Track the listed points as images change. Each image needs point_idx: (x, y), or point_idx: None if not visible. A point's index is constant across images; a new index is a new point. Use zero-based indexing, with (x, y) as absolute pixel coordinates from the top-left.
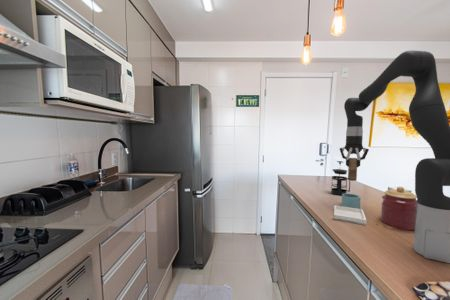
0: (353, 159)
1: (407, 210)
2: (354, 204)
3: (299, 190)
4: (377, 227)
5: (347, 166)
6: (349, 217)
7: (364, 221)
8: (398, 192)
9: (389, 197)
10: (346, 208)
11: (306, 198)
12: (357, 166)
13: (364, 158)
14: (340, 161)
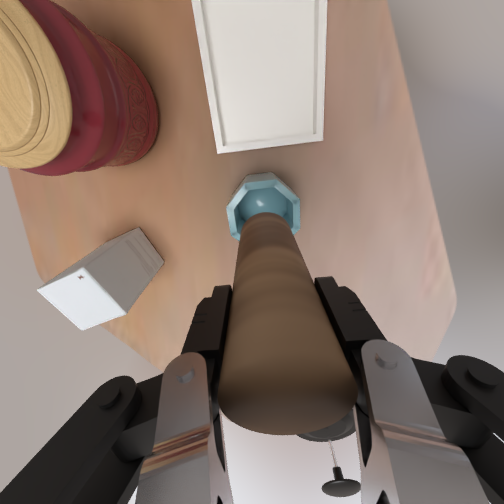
0: (279, 339)
1: None
2: (247, 178)
3: (434, 308)
4: (156, 5)
5: (327, 278)
6: None
7: None
8: None
9: (31, 12)
10: (274, 139)
11: (417, 225)
12: (225, 286)
13: (96, 395)
14: (341, 490)
